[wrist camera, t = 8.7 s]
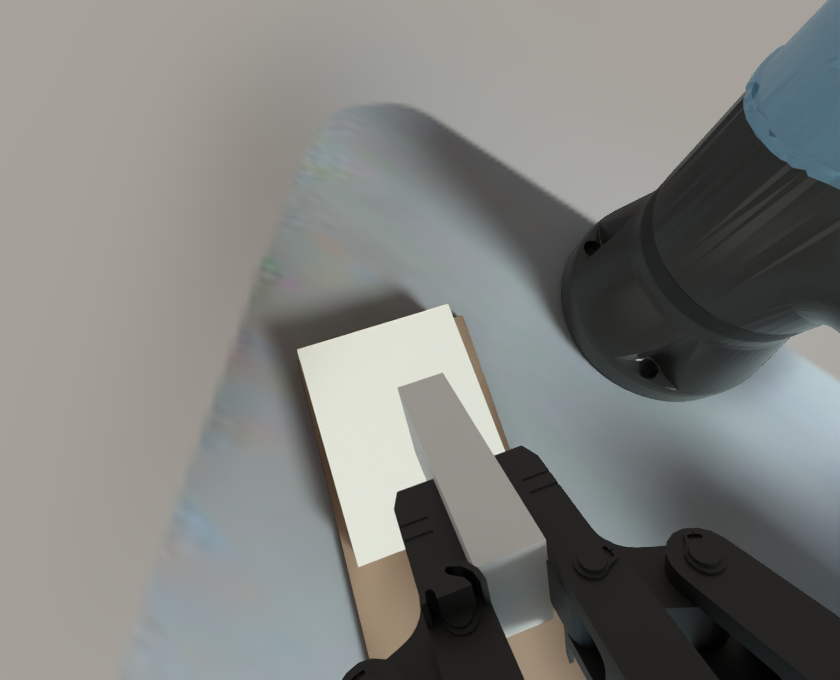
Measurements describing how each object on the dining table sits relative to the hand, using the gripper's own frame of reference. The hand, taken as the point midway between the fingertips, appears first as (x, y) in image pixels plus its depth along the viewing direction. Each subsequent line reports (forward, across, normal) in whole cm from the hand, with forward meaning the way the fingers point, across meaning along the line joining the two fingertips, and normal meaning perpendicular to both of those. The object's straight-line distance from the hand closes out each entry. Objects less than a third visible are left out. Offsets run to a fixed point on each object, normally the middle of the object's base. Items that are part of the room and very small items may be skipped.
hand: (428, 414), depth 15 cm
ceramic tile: (+7, 0, -14) cm, 16 cm away
